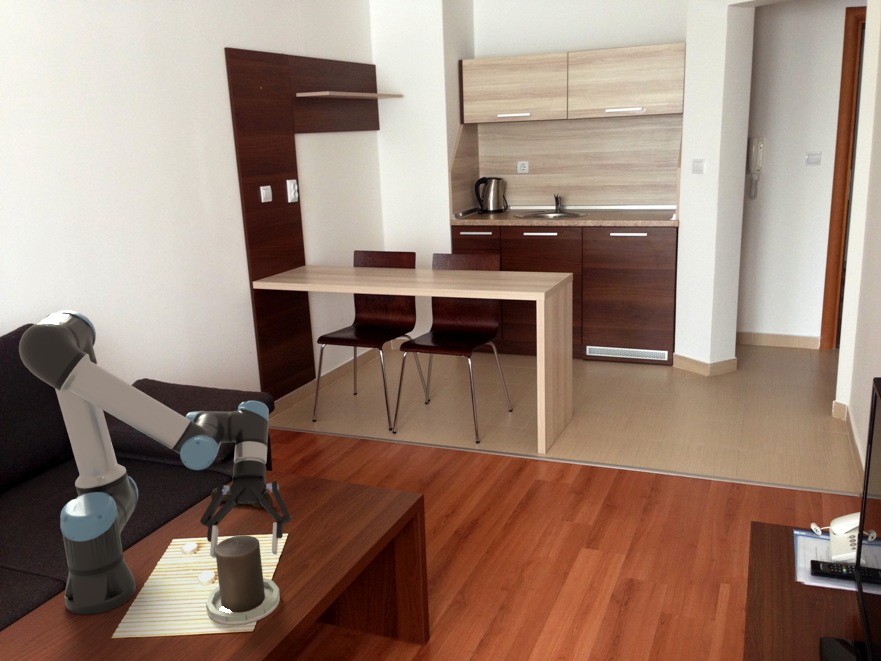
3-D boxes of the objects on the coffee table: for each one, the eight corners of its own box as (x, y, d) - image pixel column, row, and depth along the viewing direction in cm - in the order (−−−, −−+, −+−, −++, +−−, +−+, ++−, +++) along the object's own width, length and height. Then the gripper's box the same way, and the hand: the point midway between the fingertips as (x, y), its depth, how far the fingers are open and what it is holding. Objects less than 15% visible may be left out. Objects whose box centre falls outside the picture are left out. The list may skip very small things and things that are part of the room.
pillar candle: (268, 606, 174) (262, 545, 171) (223, 617, 171) (216, 554, 167) (261, 584, 183) (255, 526, 179) (218, 594, 179) (211, 534, 176)
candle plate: (199, 627, 169) (198, 619, 168) (215, 586, 184) (214, 578, 184) (274, 622, 170) (273, 614, 169) (284, 581, 185) (283, 574, 185)
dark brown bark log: (210, 503, 227) (209, 488, 226) (218, 497, 231) (217, 483, 230) (267, 512, 221) (266, 497, 220) (275, 505, 224) (273, 491, 223)
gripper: (305, 467, 190) (302, 555, 179) (200, 472, 189) (191, 561, 178) (300, 456, 183) (297, 547, 172) (192, 461, 182) (182, 553, 171)
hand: (243, 554), depth 175 cm, fingers open, 13 cm apart
